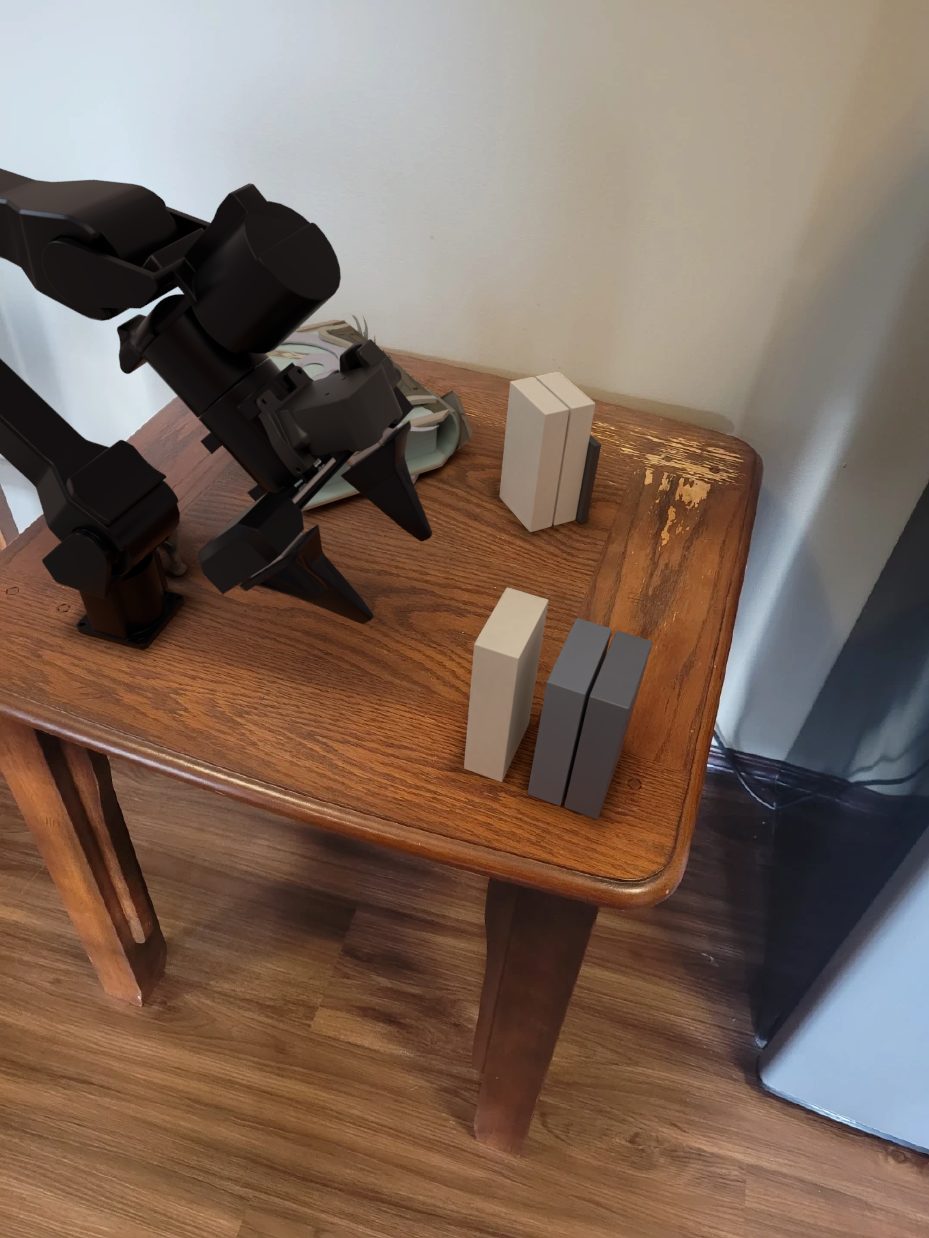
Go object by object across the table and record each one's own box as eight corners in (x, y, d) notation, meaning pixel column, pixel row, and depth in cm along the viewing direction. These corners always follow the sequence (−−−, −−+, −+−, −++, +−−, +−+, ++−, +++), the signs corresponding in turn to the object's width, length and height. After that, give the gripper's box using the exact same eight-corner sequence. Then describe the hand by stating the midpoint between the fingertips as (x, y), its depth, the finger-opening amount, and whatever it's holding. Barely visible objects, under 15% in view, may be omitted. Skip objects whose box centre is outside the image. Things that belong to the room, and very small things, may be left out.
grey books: (527, 794, 61) (546, 681, 52) (554, 730, 65) (576, 617, 57) (597, 820, 59) (629, 709, 51) (620, 753, 64) (653, 640, 56)
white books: (534, 537, 82) (550, 419, 73) (495, 493, 87) (505, 377, 78) (587, 522, 84) (608, 405, 76) (546, 480, 90) (562, 365, 81)
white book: (463, 768, 62) (473, 643, 53) (492, 711, 66) (506, 586, 57) (501, 782, 61) (518, 658, 52) (529, 723, 65) (548, 599, 56)
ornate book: (481, 480, 91) (348, 354, 107) (489, 400, 84) (346, 279, 100) (285, 546, 81) (173, 397, 98) (277, 462, 74) (157, 317, 91)
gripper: (211, 394, 40) (422, 631, 45) (385, 259, 53) (534, 456, 58) (112, 489, 47) (303, 684, 52) (285, 351, 60) (425, 518, 65)
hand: (399, 577), depth 56 cm, fingers open, 9 cm apart
